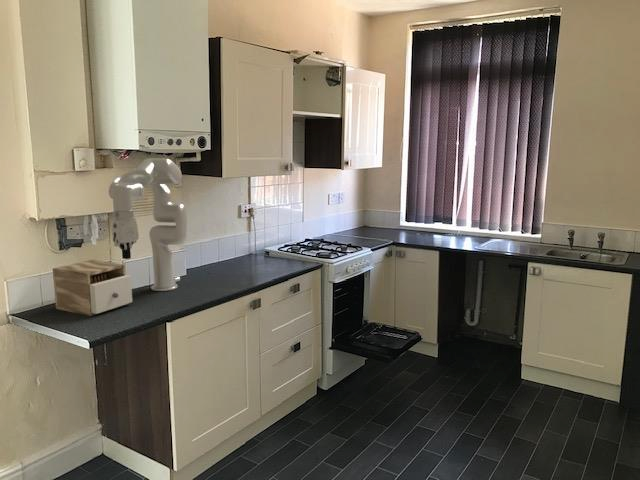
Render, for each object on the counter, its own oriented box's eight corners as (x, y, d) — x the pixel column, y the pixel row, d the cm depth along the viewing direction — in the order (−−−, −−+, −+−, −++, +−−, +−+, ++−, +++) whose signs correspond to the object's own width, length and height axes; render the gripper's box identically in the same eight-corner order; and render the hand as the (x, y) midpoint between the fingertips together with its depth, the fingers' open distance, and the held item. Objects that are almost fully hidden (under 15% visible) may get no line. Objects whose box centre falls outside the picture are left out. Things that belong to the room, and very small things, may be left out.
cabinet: (94, 297, 253) (91, 259, 250) (127, 303, 243) (125, 264, 240) (56, 308, 236) (52, 268, 233) (90, 316, 226) (87, 274, 223)
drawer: (96, 295, 252) (94, 270, 250) (134, 302, 240) (133, 276, 238) (60, 306, 235) (57, 279, 233) (98, 314, 224) (96, 286, 221)
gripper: (115, 217, 213) (118, 263, 217) (144, 213, 226) (146, 256, 229) (102, 216, 217) (105, 261, 220) (131, 212, 230) (134, 254, 233)
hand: (126, 258), depth 225 cm, fingers closed
